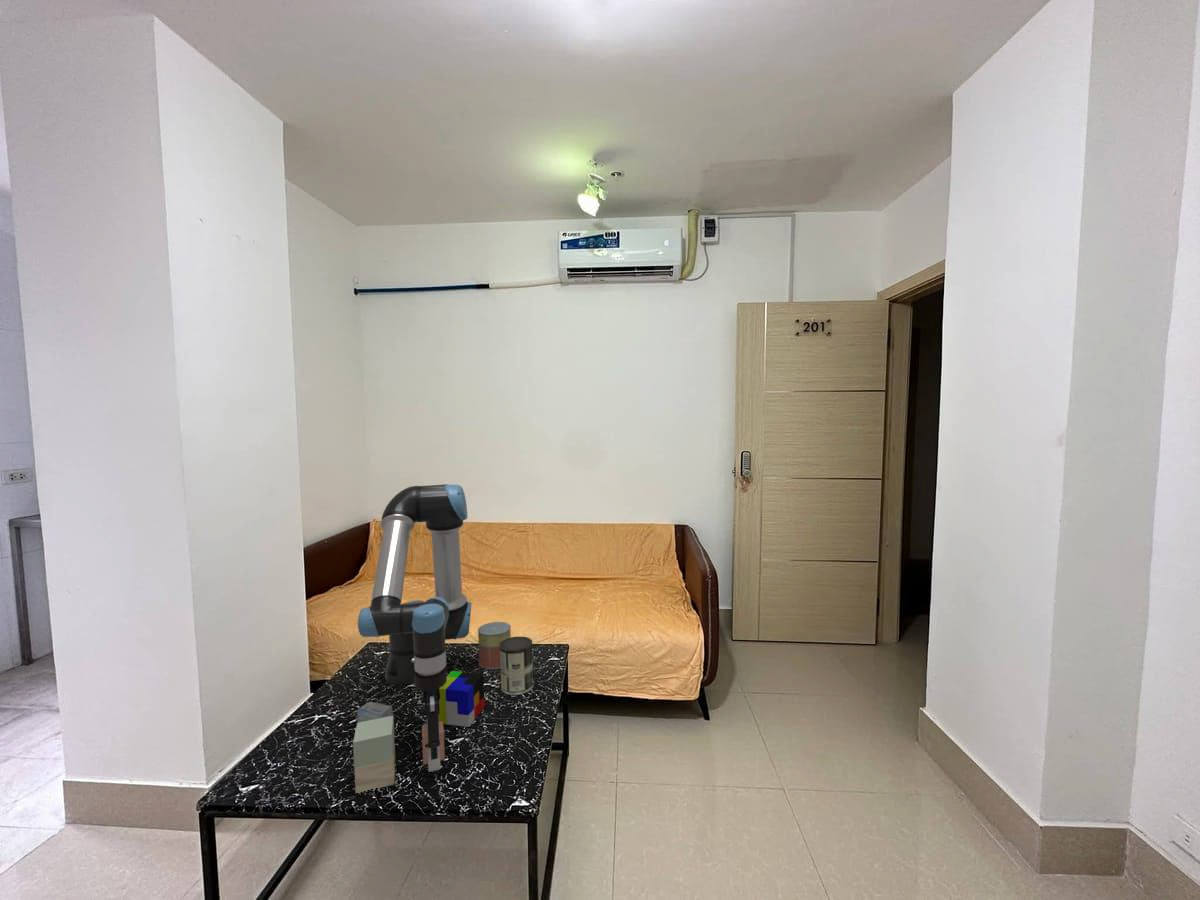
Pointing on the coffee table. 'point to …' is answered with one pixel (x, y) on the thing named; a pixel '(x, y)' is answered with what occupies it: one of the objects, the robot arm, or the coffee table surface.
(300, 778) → the coffee table surface
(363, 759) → the sage block
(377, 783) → the beech block
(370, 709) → the medicine box
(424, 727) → the terracotta block
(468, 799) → the coffee table surface
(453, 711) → the puzzle toy
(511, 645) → the coffee can
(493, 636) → the canned food
